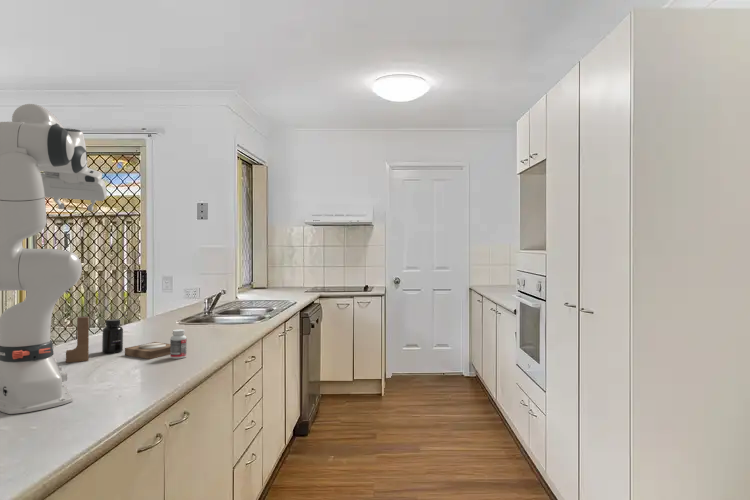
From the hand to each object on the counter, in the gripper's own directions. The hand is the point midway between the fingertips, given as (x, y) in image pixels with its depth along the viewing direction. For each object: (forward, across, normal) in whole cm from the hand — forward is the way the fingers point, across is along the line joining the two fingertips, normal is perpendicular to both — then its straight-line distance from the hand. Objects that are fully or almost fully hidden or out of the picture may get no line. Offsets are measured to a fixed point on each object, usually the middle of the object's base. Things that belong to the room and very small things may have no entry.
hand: (76, 209), depth 185 cm
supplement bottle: (+46, +15, -24) cm, 55 cm away
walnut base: (+43, +29, -30) cm, 60 cm away
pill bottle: (+39, +39, -38) cm, 67 cm away
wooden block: (+41, +6, -36) cm, 55 cm away
